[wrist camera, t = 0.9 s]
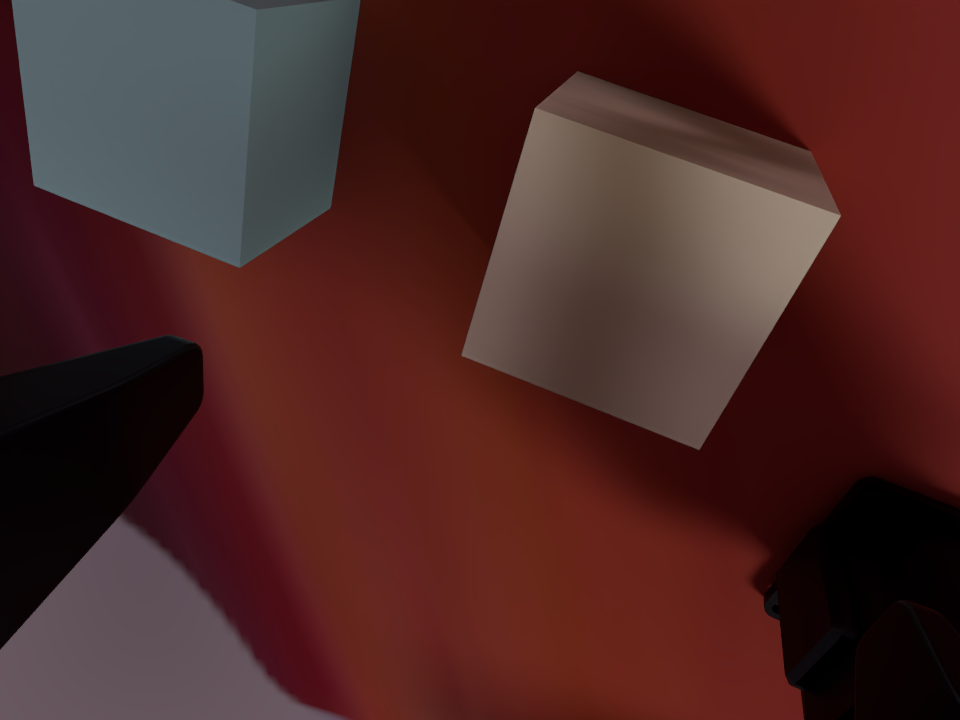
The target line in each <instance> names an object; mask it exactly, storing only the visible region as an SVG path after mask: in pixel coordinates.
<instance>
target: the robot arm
mask: <svg viewBox="0 0 960 720" xmlns="http://www.w3.org/2000/svg"><path fill="white" fill-rule="evenodd" d="M203 394H204V384H203V354H202V350H201V348H200V346H199V345H197V344H196V343H194V342H191V341H188V340H186V339H183V338H180V337H177V336H173V335H166V336H161V337H157V338H153V339H149V340H145V341H141V342H137V343H133V344H129V345H125V346H121V347H117V348H113V349H109V350H105V351H101V352H97V353H93V354H89V355H85V356H81V357H77V358H73V359H69V360H65V361H61V362H57V363H53V364H49V365H45V366H41V367H37V368H33V369H29V370H25V371H21V372H17V373H13V374H9V375H5V376H1V377H0V649H1V648H2V647H3V646H4V645H5V644H6V643H7V641H8V640H9V639H10V638H11V637H12V636H13V635H14V633H16V631H17V630H18V629H19V628H20V627H21V626H22V625H23V624H24V622H25V621H26V620H27V619H28V618H29V617H30V615H32V613H33V612H34V611H35V610H36V609H37V608H38V607H39V606H40V604H41V603H42V602H43V601H44V600H45V599H46V598H47V596H49V594H50V593H51V592H52V591H53V590H54V589H55V588H56V587H57V585H58V584H59V583H60V582H61V581H62V580H63V579H64V578H65V576H66V575H67V574H68V573H69V572H70V571H71V570H72V569H73V568H74V566H75V565H76V564H77V563H78V562H79V561H80V560H81V559H82V557H83V556H84V555H85V554H86V553H87V552H88V551H89V550H90V548H91V547H92V546H93V545H94V544H95V543H96V542H97V541H98V540H99V538H100V537H101V536H102V535H103V534H104V533H105V532H106V531H107V529H108V528H109V527H110V526H111V525H112V524H113V523H114V522H115V520H116V519H117V518H118V517H119V516H120V515H121V514H122V512H123V511H124V510H125V509H126V508H127V507H128V505H129V504H130V503H131V502H132V501H133V499H134V498H135V497H136V496H137V494H138V493H139V492H140V490H141V489H142V488H143V486H144V485H145V484H146V482H147V481H148V479H149V478H150V477H151V475H152V474H153V472H154V471H155V470H156V468H157V467H158V465H159V464H160V463H161V461H162V460H163V458H164V457H165V456H166V454H167V453H168V452H169V450H170V449H171V447H172V446H173V445H174V443H175V442H176V440H177V439H178V438H179V436H180V435H181V433H182V432H183V431H184V429H185V428H186V426H187V425H188V424H189V422H190V421H191V419H192V418H193V417H194V415H195V414H196V412H197V411H198V409H199V407H200V405H201V403H202V400H203ZM873 492H875V493H879V495H877V496H875V497H868V496H866V495H867V494H868V493H873ZM776 604H778V605H776ZM764 609H765V612H766V613H767V614H768V615H769V616H771V617H773V618H775V619H777V620H780V627H781V638H782V648H783V659H784V669H785V675H786V678H787V680H788V682H789V685H791V686H793V687H795V688H798V689H800V690H801V696H802V705H803V714H804V720H960V509H957V508H955V507H952V506H950V505H947V504H945V503H942V502H939V501H937V500H934V499H932V498H929V497H927V496H924V495H921V494H919V493H916V492H914V491H911V490H909V489H906V488H904V487H901V486H898V485H896V484H893V483H891V482H888V481H886V480H883V479H880V478H876V477H867V478H864V479H861V480H859V481H858V482H856V483H855V484H854V485H853V487H852V488H851V489H850V490H849V492H848V493H847V494H846V495H845V497H844V498H843V499H842V500H841V501H840V503H839V504H838V505H837V506H836V508H835V509H834V510H833V511H832V512H831V514H830V515H829V516H828V517H827V519H826V520H825V521H824V522H823V524H822V523H821V524H819V525H817V526H815V527H813V528H812V529H811V530H810V532H809V533H808V534H807V535H806V537H805V538H804V539H803V540H802V542H801V543H800V544H799V545H798V547H797V548H796V549H795V550H794V551H793V553H792V554H791V555H790V556H789V558H788V559H787V560H786V561H785V563H784V564H783V565H782V566H781V568H780V569H779V570H778V571H777V573H776V581H775V583H774V584H773V585H772V586H771V587H770V589H769V590H768V591H767V592H766V594H765V596H764Z"/></svg>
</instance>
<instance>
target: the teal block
mask: <svg viewBox="0 0 960 720" xmlns="http://www.w3.org/2000/svg"><path fill="white" fill-rule="evenodd" d="M360 1H361V0H12V7H13V15H14V23H15V32H16V40H17V48H18V56H19V65H20V73H21V81H22V90H23V98H24V106H25V115H26V123H27V131H28V140H29V148H30V156H31V164H32V173H33V181H34V186H37V187H39V188H42V189H44V190H46V191H49V192H51V193H54V194H56V195H59V196H61V197H64V198H66V199H69V200H71V201H74V202H76V203H79V204H81V205H84V206H86V207H89V208H91V209H94V210H96V211H99V212H101V213H104V214H106V215H109V216H111V217H114V218H116V219H119V220H121V221H124V222H126V223H129V224H131V225H134V226H136V227H139V228H141V229H144V230H146V231H149V232H151V233H154V234H156V235H159V236H161V237H164V238H166V239H169V240H171V241H174V242H176V243H179V244H181V245H184V246H186V247H189V248H191V249H194V250H196V251H199V252H201V253H204V254H206V255H209V256H211V257H214V258H216V259H219V260H221V261H224V262H226V263H229V264H231V265H234V266H236V267H239V268H240V267H242V266H243V265H245V264H246V263H248V262H249V261H251V260H252V259H254V258H255V257H257V256H259V255H260V254H262V253H263V252H265V251H266V250H268V249H269V248H271V247H272V246H274V245H275V244H277V243H278V242H280V241H281V240H283V239H284V238H286V237H287V236H289V235H290V234H292V233H293V232H295V231H296V230H298V229H300V228H301V227H303V226H304V225H306V224H307V223H309V222H310V221H312V220H313V219H315V218H316V217H318V216H319V215H321V214H322V213H324V212H325V211H327V210H328V209H330V208H331V203H332V196H333V189H334V182H335V175H336V168H337V161H338V154H339V147H340V140H341V133H342V126H343V119H344V112H345V105H346V98H347V91H348V84H349V77H350V70H351V63H352V56H353V50H354V43H355V36H356V29H357V22H358V15H359V8H360Z"/></svg>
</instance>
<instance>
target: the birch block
mask: <svg viewBox="0 0 960 720" xmlns="http://www.w3.org/2000/svg"><path fill="white" fill-rule="evenodd" d="M840 216H841V215H840V212H839V210H838V208H837V206H836V204H835V202H834V200H833V198H832V196H831V193H830V191H829V189H828V187H827V185H826V183H825V181H824V179H823V176H822V174H821V172H820V170H819V168H818V166H817V164H816V162H815V159H814V157H813V155H812V153H811V151H808V150H805V149H802V148H799V147H796V146H794V145H791V144H788V143H785V142H782V141H779V140H776V139H773V138H770V137H767V136H765V135H762V134H759V133H756V132H753V131H750V130H747V129H744V128H741V127H738V126H735V125H733V124H730V123H727V122H724V121H721V120H718V119H715V118H712V117H709V116H706V115H704V114H701V113H698V112H695V111H692V110H689V109H686V108H683V107H680V106H677V105H674V104H672V103H669V102H666V101H663V100H660V99H657V98H654V97H651V96H648V95H645V94H643V93H640V92H637V91H634V90H631V89H628V88H625V87H622V86H619V85H616V84H613V83H611V82H608V81H605V80H602V79H599V78H596V77H593V76H590V75H587V74H584V73H582V72H579V71H577V72H576V73H575V74H574V75H573V76H572V77H570V78H569V79H568V80H567V81H566V82H565V83H563V84H562V85H561V86H560V87H559V88H558V89H556V90H555V91H554V92H553V93H552V94H551V95H549V96H548V97H547V98H546V99H545V100H544V101H542V102H541V103H540V104H539V105H538V106H537V107H535V110H534V113H533V116H532V120H531V123H530V126H529V130H528V133H527V137H526V140H525V143H524V147H523V150H522V153H521V157H520V160H519V163H518V167H517V170H516V173H515V177H514V180H513V184H512V187H511V190H510V194H509V197H508V200H507V204H506V207H505V210H504V214H503V217H502V221H501V224H500V227H499V231H498V234H497V237H496V241H495V244H494V247H493V251H492V254H491V258H490V261H489V264H488V268H487V271H486V274H485V278H484V281H483V284H482V288H481V291H480V295H479V298H478V301H477V305H476V308H475V311H474V315H473V318H472V321H471V325H470V328H469V332H468V335H467V338H466V342H465V345H464V348H463V352H462V355H461V356H464V357H466V358H469V359H471V360H474V361H476V362H479V363H481V364H484V365H486V366H489V367H491V368H494V369H497V370H499V371H502V372H504V373H507V374H509V375H512V376H514V377H517V378H519V379H522V380H524V381H527V382H529V383H532V384H534V385H537V386H539V387H542V388H544V389H547V390H549V391H552V392H554V393H557V394H559V395H562V396H565V397H567V398H570V399H572V400H575V401H577V402H580V403H582V404H585V405H587V406H590V407H592V408H595V409H597V410H600V411H602V412H605V413H607V414H610V415H612V416H615V417H617V418H620V419H622V420H625V421H627V422H630V423H632V424H635V425H638V426H640V427H643V428H645V429H648V430H650V431H653V432H655V433H658V434H660V435H663V436H665V437H668V438H670V439H673V440H675V441H678V442H680V443H683V444H685V445H688V446H690V447H693V448H695V449H698V450H700V448H701V446H702V445H703V443H704V441H705V440H706V438H707V437H708V435H709V433H710V432H711V430H712V428H713V427H714V425H715V423H716V422H717V420H718V418H719V417H720V415H721V413H722V412H723V410H724V408H725V407H726V405H727V403H728V402H729V400H730V398H731V397H732V395H733V394H734V392H735V390H736V389H737V387H738V385H739V384H740V382H741V380H742V379H743V377H744V375H745V374H746V372H747V370H748V369H749V367H750V365H751V364H752V362H753V360H754V359H755V357H756V355H757V354H758V352H759V350H760V349H761V347H762V346H763V344H764V342H765V341H766V339H767V337H768V336H769V334H770V332H771V331H772V329H773V327H774V326H775V324H776V322H777V321H778V319H779V317H780V316H781V314H782V312H783V311H784V309H785V307H786V306H787V304H788V303H789V301H790V299H791V298H792V296H793V294H794V293H795V291H796V289H797V288H798V286H799V284H800V283H801V281H802V279H803V278H804V276H805V274H806V273H807V271H808V269H809V268H810V266H811V264H812V263H813V261H814V259H815V258H816V256H817V255H818V253H819V251H820V250H821V248H822V246H823V245H824V243H825V241H826V240H827V238H828V236H829V235H830V233H831V231H832V230H833V228H834V226H835V225H836V223H837V221H838V220H839V218H840Z"/></svg>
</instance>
